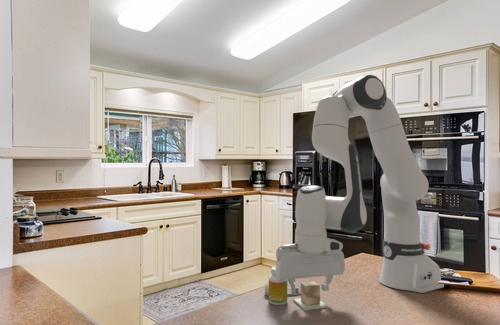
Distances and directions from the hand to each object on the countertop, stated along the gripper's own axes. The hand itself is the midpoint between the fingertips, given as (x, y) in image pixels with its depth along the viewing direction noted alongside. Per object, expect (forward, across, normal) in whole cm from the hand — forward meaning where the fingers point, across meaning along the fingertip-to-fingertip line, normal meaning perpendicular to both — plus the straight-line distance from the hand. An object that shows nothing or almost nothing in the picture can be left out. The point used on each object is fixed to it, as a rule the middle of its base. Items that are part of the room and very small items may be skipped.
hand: (310, 291), depth 101 cm
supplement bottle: (+4, -8, +4) cm, 10 cm away
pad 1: (+4, 0, +11) cm, 12 cm away
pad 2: (+4, 0, 0) cm, 4 cm away
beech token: (+3, 0, 0) cm, 3 cm away
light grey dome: (+4, -7, +10) cm, 13 cm away
